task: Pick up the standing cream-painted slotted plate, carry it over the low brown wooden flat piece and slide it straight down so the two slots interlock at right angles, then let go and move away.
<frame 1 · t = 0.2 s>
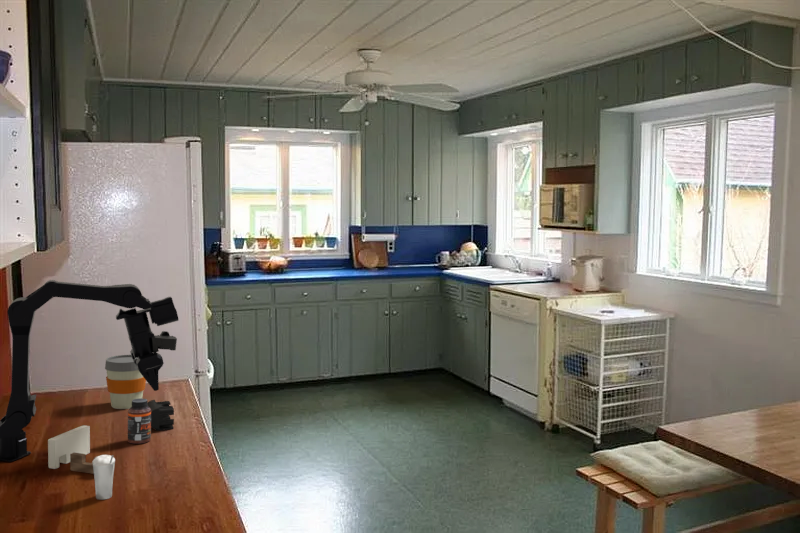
hand: (154, 386, 189), 15 cm above the countertop, tool pointing down, fingers open, 9 cm apart
brown wooden flat piece: (89, 472, 168), on the countertop
supplement bottle: (139, 441, 191), on the countertop
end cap: (158, 427, 204), on the countertop
cream plate: (69, 460, 176), on the countertop
milkshake: (105, 498, 154), on the countertop
reusable coffee cup: (126, 405, 225), on the countertop
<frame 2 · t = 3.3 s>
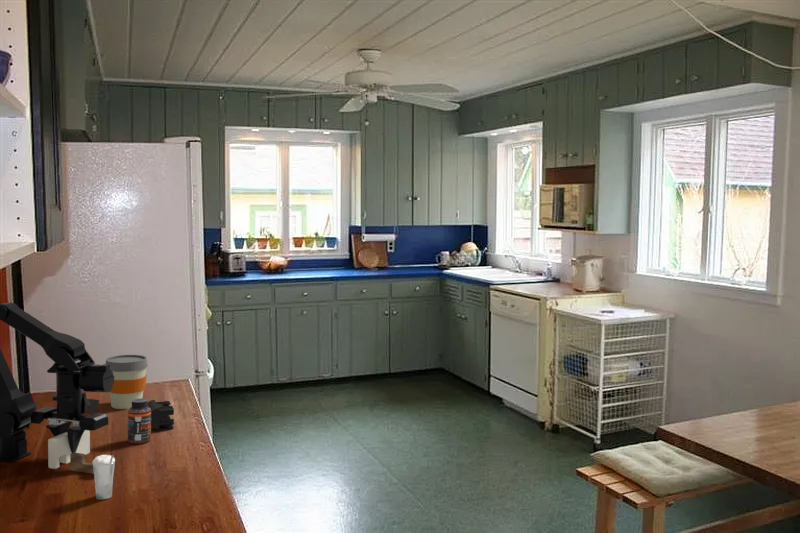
hand: (69, 452, 176), 2 cm above the countertop, tool pointing down, fingers closed on cream plate, 2 cm apart
cream plate: (69, 460, 176), on the countertop, touching gripper
everything else where it was.
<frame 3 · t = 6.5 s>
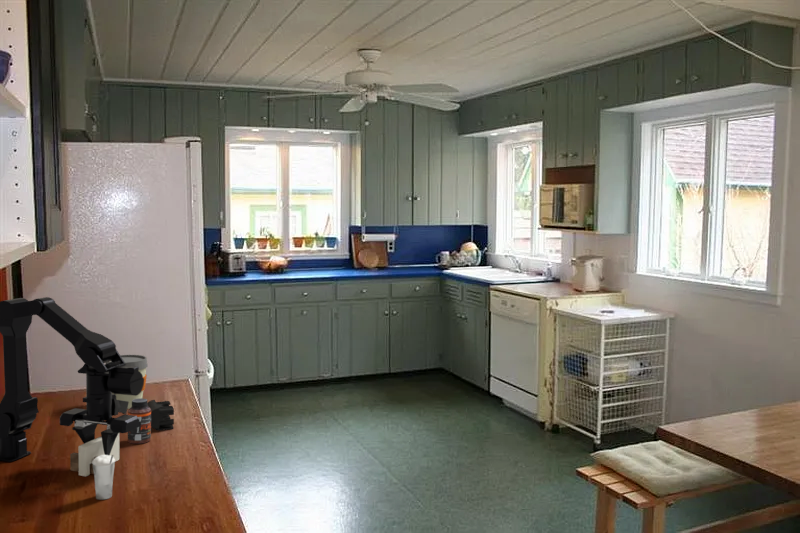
hand: (99, 455, 171), 3 cm above the countertop, tool pointing down, fingers open, 4 cm apart
cream plate: (99, 467, 172), on the countertop
everything else where it was.
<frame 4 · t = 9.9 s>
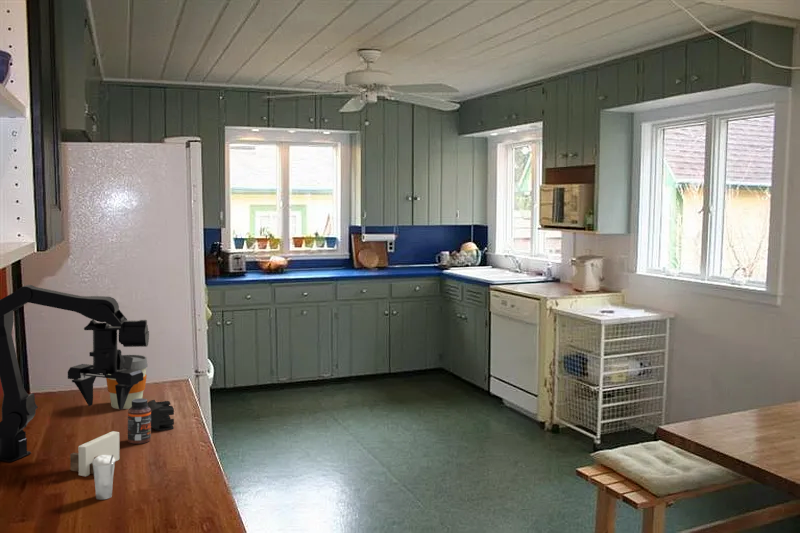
hand: (105, 407, 180), 12 cm above the countertop, tool pointing down, fingers open, 9 cm apart
nothing on the countertop moved.
at the end: cream plate 0.0 cm from the target spot on the countertop beside the brown wooden flat piece, on the countertop; cream plate tilted 0°; the gripper is holding nothing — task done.
